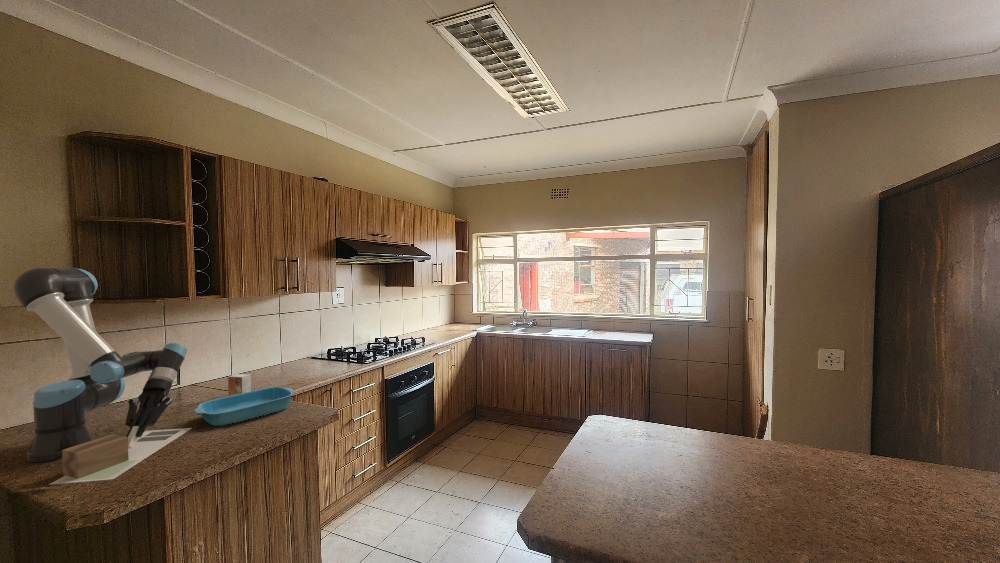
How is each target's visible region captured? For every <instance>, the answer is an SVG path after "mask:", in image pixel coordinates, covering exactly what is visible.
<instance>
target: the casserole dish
mask: <svg viewBox="0 0 1000 563" xmlns="http://www.w3.org/2000/svg"><path fill="white" fill-rule="evenodd" d="M293 392H294V389H293V388H291V387H284V386H282V387H281V386H271V387H266V388H265V387H264V388H260V389H256V390H251V391H250V392H245V393H241V394H236V395H232V396H224V397H219V398H214V399H211V400H207V401H204V402H201V403H199V404H198V405H197V407H196V408H195V409H194V410H193V412H194V413H195V414H196V415H201V418H202V419H203V420H204V421H205V422H206V423H208V424H209V425H211V426H213V427H217V426H226V425H228V424H230V425H233V424H232V423H234V424H238V423H242V422H245V421H244V420H246V421H249V420H248V419H250V420H252V418H253V419H255V417H257V418H260V417H259V416H261V417H263V415H264V416H267V414H268V415H271V414H270V413H272V414H274V412H275V413H279V412H280V411H283V410H285V409H286V408H287V407H289V404H290V403H291V399H292V396H293ZM241 421H242V422H241ZM237 422H238V423H237Z"/></svg>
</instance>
